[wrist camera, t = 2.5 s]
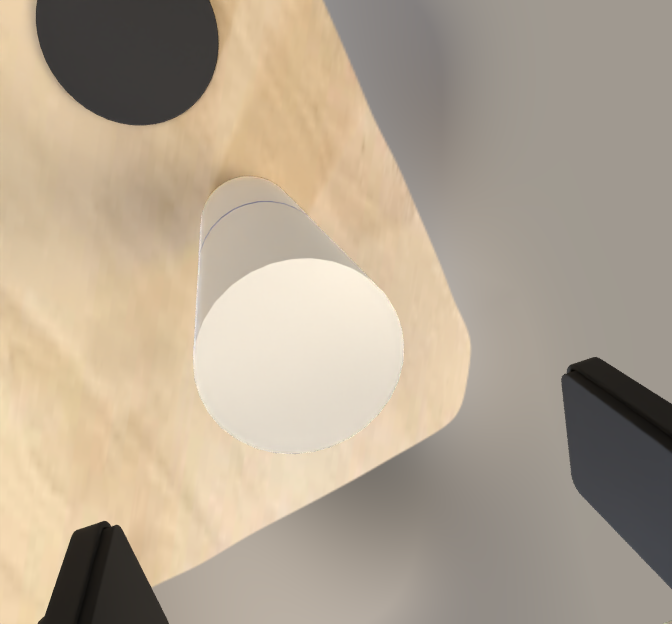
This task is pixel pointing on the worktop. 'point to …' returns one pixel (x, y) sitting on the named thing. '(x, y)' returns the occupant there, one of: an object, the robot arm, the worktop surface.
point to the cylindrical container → (287, 325)
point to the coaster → (130, 54)
